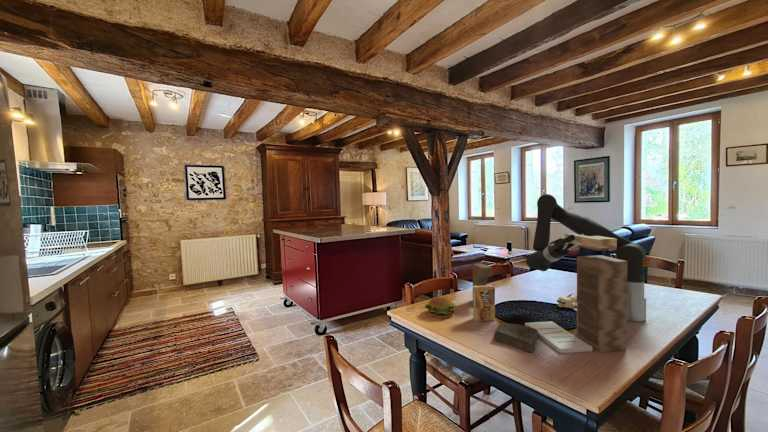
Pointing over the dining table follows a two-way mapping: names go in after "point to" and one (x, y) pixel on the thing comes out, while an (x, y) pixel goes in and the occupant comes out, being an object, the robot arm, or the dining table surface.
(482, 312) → the candy box
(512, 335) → the marble piece
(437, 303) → the food
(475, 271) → the decorative block
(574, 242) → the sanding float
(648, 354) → the dining table surface
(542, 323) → the grey board
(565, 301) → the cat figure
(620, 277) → the zigzag patterned tall block
